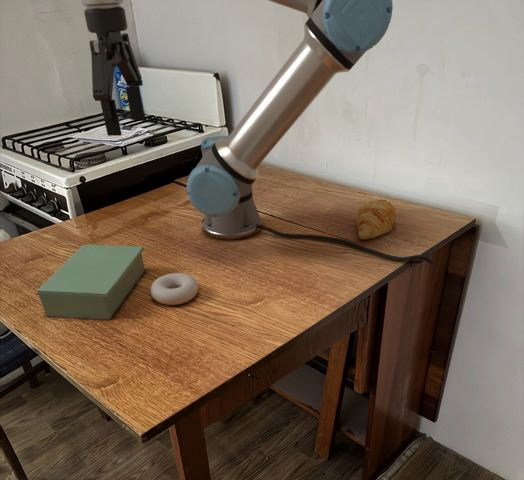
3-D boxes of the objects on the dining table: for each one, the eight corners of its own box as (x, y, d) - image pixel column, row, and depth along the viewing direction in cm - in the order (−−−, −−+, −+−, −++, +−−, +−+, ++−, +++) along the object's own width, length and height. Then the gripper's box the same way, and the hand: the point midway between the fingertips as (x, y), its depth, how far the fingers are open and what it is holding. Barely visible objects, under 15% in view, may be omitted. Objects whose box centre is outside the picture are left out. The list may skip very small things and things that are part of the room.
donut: (142, 301, 105) (178, 312, 100) (139, 286, 103) (176, 297, 98) (173, 280, 111) (208, 290, 107) (170, 266, 109) (206, 276, 105)
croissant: (371, 258, 123) (389, 233, 117) (338, 234, 123) (354, 209, 117) (394, 223, 137) (411, 201, 132) (365, 203, 138) (380, 179, 132)
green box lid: (144, 249, 112) (143, 246, 112) (107, 297, 96) (106, 293, 95) (84, 247, 114) (83, 244, 114) (38, 293, 98) (36, 290, 98)
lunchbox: (145, 270, 115) (140, 249, 112) (109, 319, 99) (103, 297, 96) (89, 267, 117) (84, 247, 114) (46, 316, 101) (38, 294, 98)
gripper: (110, 3, 104) (131, 113, 117) (53, 12, 85) (85, 142, 97) (144, 2, 103) (161, 113, 116) (94, 10, 83) (121, 142, 96)
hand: (126, 127), depth 107 cm, fingers open, 13 cm apart
